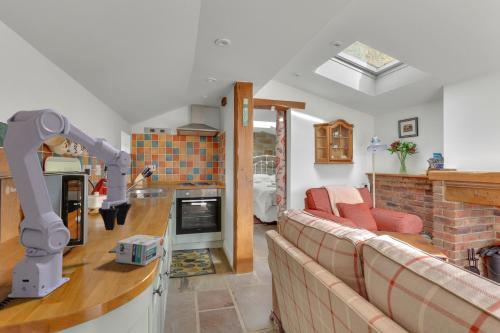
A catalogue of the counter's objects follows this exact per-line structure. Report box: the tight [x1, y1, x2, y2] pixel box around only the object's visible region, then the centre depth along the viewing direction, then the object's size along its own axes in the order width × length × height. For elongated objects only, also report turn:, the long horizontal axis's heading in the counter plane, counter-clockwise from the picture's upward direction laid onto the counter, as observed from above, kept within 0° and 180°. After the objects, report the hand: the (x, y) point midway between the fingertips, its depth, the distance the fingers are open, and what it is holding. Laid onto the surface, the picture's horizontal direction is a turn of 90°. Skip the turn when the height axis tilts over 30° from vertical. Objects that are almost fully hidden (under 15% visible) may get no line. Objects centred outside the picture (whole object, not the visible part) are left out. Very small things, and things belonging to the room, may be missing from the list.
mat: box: [108, 245, 117, 253], centre depth 95 cm, size 12×9×1 cm
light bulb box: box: [115, 233, 165, 267], centre depth 83 cm, size 11×7×11 cm
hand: (115, 227), depth 83 cm, fingers open, 7 cm apart
